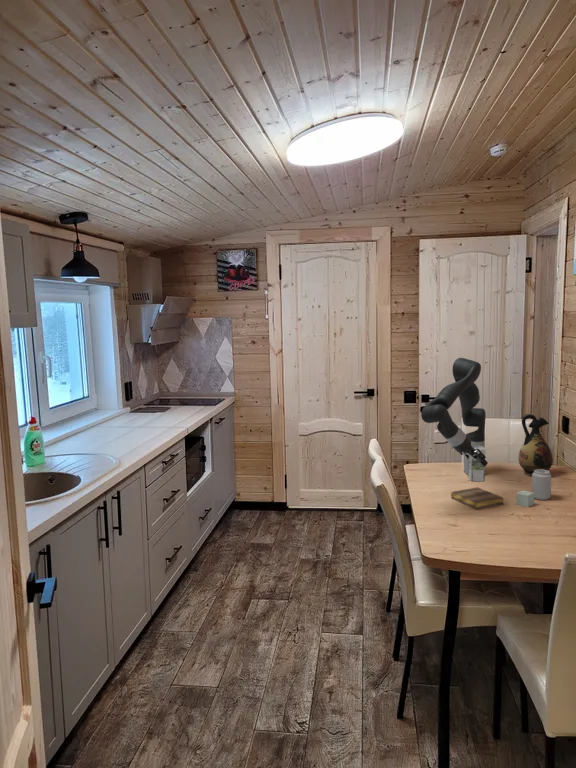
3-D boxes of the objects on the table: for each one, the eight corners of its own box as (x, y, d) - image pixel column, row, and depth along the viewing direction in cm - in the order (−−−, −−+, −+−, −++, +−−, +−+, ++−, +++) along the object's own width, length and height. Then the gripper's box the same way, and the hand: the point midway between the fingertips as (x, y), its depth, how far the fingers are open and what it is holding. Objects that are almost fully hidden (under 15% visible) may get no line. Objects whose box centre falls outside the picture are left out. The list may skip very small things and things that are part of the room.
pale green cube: (516, 504, 233) (516, 492, 232) (522, 501, 236) (523, 490, 235) (527, 507, 229) (527, 495, 228) (534, 504, 232) (534, 493, 231)
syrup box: (481, 478, 239) (482, 445, 238) (485, 482, 233) (485, 448, 232) (468, 478, 240) (468, 445, 238) (471, 482, 234) (471, 448, 232)
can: (550, 496, 241) (551, 469, 240) (550, 501, 234) (551, 473, 233) (532, 494, 244) (532, 467, 243) (531, 499, 238) (532, 472, 236)
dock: (451, 498, 242) (451, 491, 242) (477, 493, 248) (477, 487, 247) (476, 509, 228) (476, 502, 227) (503, 504, 233) (503, 497, 232)
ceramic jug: (546, 470, 280) (548, 411, 276) (556, 478, 265) (557, 417, 261) (511, 469, 283) (512, 411, 279) (518, 478, 268) (519, 417, 264)
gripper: (474, 435, 225) (496, 459, 230) (451, 428, 238) (473, 452, 243) (463, 449, 223) (486, 473, 229) (441, 442, 237) (463, 465, 242)
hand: (479, 462), depth 236 cm, fingers closed on syrup box, 7 cm apart
